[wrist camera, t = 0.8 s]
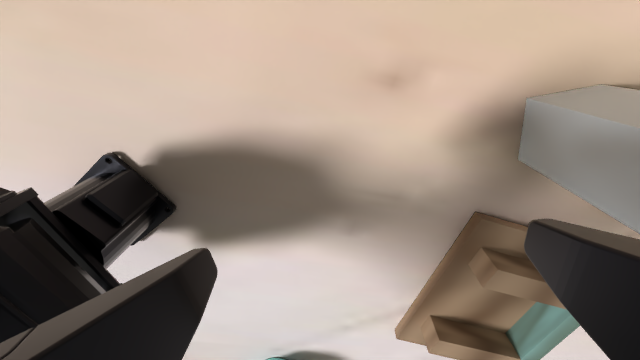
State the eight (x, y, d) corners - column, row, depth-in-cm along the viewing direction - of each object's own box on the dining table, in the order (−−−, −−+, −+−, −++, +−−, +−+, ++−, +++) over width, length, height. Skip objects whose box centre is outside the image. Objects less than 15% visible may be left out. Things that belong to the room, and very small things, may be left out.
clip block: (518, 159, 20) (646, 238, 12) (526, 98, 18) (688, 141, 10) (584, 149, 19) (768, 224, 11) (601, 84, 17) (838, 118, 9)
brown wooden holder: (394, 329, 29) (402, 364, 26) (475, 211, 22) (499, 239, 19) (493, 352, 30) (512, 388, 27) (600, 248, 23) (642, 279, 20)
